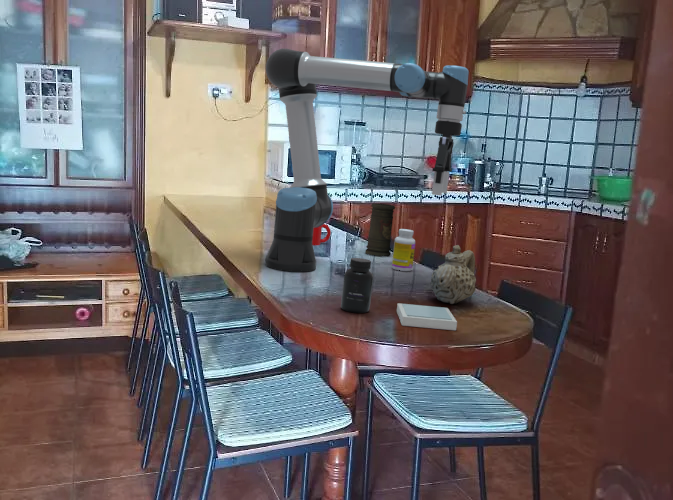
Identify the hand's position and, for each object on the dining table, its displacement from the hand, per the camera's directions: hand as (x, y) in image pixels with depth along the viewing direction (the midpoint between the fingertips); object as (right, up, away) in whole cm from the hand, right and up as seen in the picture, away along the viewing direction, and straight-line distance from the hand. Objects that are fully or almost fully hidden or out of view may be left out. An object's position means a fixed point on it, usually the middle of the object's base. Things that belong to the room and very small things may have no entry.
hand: (439, 193), depth 194 cm
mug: (-39, -14, +51) cm, 66 cm away
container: (-16, -18, +41) cm, 47 cm away
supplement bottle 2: (-10, -23, +16) cm, 30 cm away
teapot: (0, -30, -22) cm, 37 cm away
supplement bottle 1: (-26, -31, -40) cm, 57 cm away
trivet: (-10, -33, -44) cm, 56 cm away
